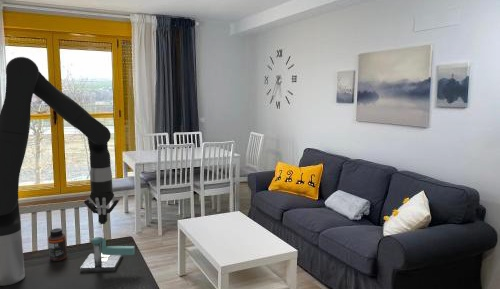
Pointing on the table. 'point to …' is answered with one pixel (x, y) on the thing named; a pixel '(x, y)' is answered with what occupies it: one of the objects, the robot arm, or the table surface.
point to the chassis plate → (100, 261)
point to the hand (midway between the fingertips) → (103, 223)
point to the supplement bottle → (57, 245)
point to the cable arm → (113, 248)
